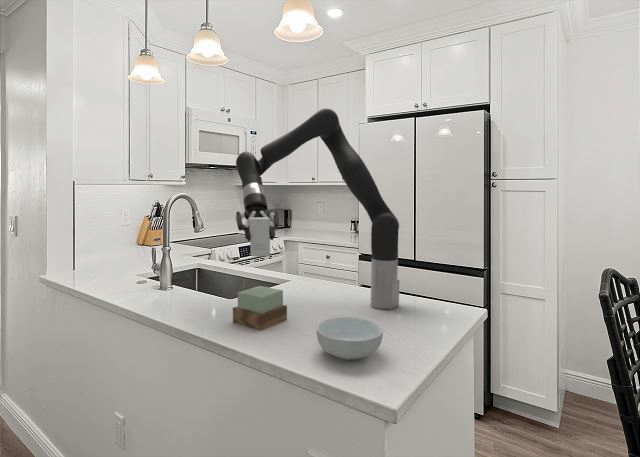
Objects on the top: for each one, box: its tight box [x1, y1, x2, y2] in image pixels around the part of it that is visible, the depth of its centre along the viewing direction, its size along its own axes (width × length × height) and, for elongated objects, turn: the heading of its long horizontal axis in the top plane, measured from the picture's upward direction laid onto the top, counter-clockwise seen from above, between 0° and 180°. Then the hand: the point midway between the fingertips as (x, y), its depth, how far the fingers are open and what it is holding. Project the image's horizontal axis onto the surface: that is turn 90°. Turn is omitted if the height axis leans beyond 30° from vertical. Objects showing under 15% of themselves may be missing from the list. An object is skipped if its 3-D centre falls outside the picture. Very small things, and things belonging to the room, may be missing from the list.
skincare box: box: [249, 217, 271, 257], centre depth 128 cm, size 6×4×12 cm
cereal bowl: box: [316, 316, 384, 361], centre depth 104 cm, size 17×17×7 cm
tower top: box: [237, 285, 284, 314], centre depth 127 cm, size 10×10×5 cm
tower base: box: [232, 304, 288, 331], centre depth 128 cm, size 12×12×5 cm
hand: (260, 238), depth 126 cm, fingers closed on skincare box, 6 cm apart
